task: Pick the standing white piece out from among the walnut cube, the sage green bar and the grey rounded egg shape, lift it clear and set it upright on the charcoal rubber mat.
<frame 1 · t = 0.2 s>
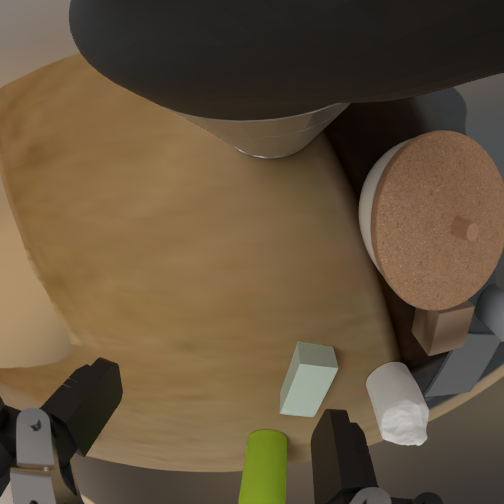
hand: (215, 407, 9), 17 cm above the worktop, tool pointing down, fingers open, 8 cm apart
soap dispenser: (268, 440, 34), on the worktop
white piece: (386, 375, 28), on the worktop
sage bar: (305, 369, 29), on the worktop
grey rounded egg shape: (487, 302, 24), on the worktop
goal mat: (465, 364, 27), on the worktop
walnut cube: (432, 309, 25), on the worktop
lidded bowl: (401, 206, 23), on the worktop
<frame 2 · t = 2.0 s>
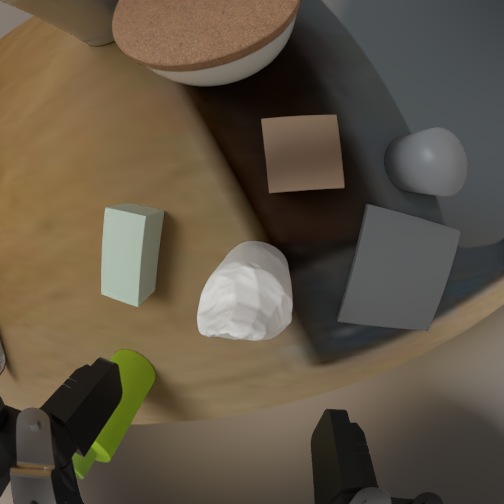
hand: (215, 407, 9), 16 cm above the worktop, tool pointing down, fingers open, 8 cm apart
soap dispenser: (137, 370, 29), on the worktop
white piece: (254, 268, 24), on the worktop
sage bar: (141, 247, 25), on the worktop
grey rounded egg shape: (408, 164, 20), on the worktop
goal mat: (402, 273, 23), on the worktop
walnut cube: (297, 158, 21), on the worktop
lidded bowl: (224, 46, 19), on the worktop
tin: (0, 337, 33), on the worktop
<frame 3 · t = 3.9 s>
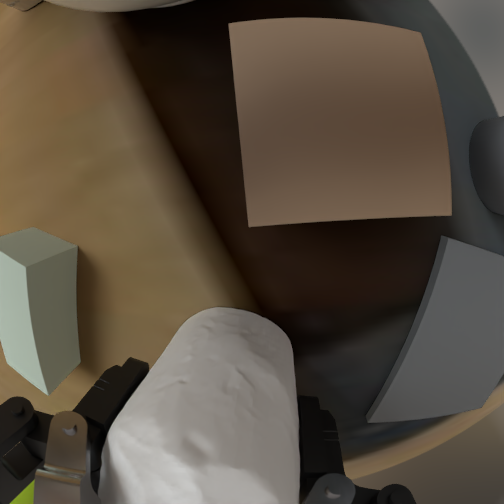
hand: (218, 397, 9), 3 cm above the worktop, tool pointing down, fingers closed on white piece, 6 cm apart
white piece: (230, 351, 12), on the worktop, touching gripper
sage bar: (55, 298, 13), on the worktop
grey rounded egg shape: (498, 166, 9), on the worktop
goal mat: (471, 344, 11), on the worktop
walnut cube: (318, 140, 10), on the worktop
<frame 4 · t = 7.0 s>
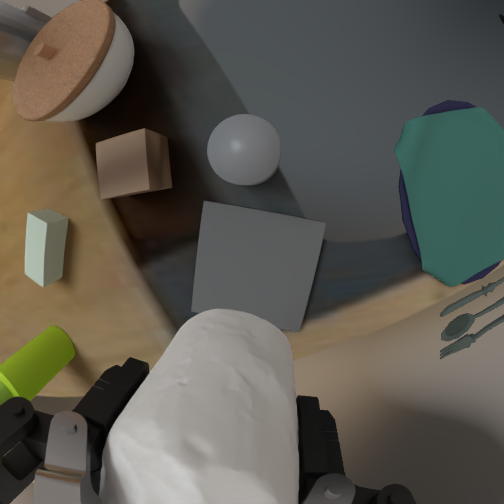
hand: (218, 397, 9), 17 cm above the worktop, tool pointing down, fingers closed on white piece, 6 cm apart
soap dispenser: (63, 345, 31), on the worktop
white piece: (230, 353, 12), point 13 cm above the worktop, touching gripper
sage bar: (55, 243, 27), on the worktop
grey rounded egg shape: (251, 157, 23), on the worktop
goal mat: (254, 268, 25), on the worktop
walnut cube: (146, 166, 24), on the worktop
lidded bowl: (104, 79, 22), on the worktop
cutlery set: (470, 235, 23), on the worktop
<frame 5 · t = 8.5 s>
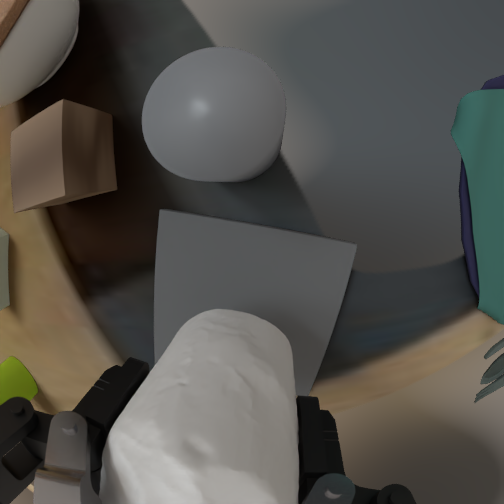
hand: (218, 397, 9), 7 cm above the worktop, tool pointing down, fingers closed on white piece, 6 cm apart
soap dispenser: (25, 378, 22), on the worktop
white piece: (230, 353, 12), point 4 cm above the worktop, touching gripper
sage bar: (0, 263, 18), on the worktop
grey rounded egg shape: (235, 137, 14), on the worktop
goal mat: (242, 313, 16), on the worktop
walnut cube: (85, 160, 15), on the worktop
lidded bowl: (49, 52, 13), on the worktop
when the fingers open (5 cm above the worktop, at t = 9.9 s): white piece drops 1 cm, resting on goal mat.
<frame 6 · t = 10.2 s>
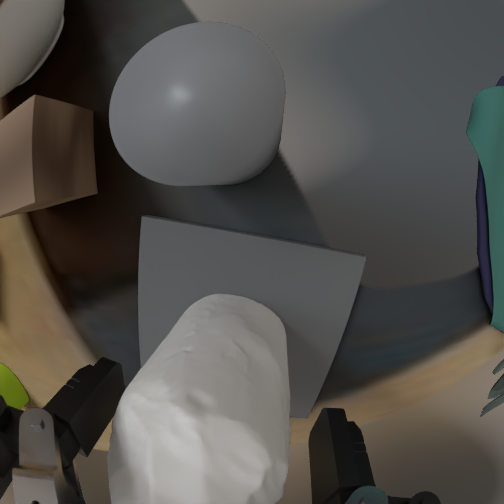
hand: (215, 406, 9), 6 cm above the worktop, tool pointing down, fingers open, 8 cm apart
soap dispenser: (16, 385, 20), on the worktop
white piece: (229, 335, 14), resting on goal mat
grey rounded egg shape: (227, 133, 12), on the worktop
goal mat: (236, 332, 14), on the worktop
walnut cube: (65, 161, 13), on the worktop
lidded bowl: (35, 47, 11), on the worktop
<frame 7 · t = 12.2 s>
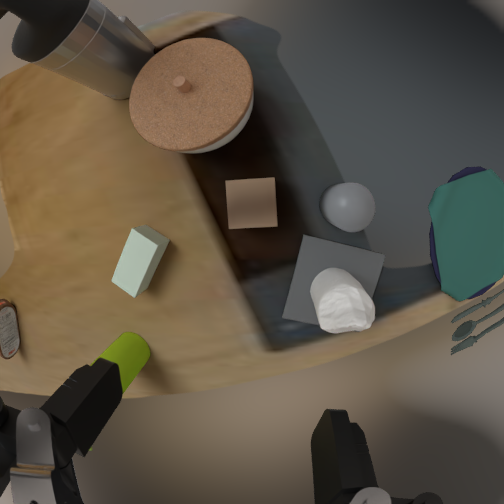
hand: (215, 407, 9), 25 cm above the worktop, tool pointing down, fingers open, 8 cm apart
soap dispenser: (136, 349, 39), on the worktop
white piece: (332, 286, 33), resting on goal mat
sage bar: (146, 257, 35), on the worktop
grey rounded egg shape: (339, 204, 31), on the worktop
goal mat: (334, 285, 33), on the worktop
walnut cube: (255, 201, 32), on the worktop
lidded bowl: (209, 113, 30), on the worktop
tin: (16, 323, 42), on the worktop
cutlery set: (474, 263, 31), on the worktop
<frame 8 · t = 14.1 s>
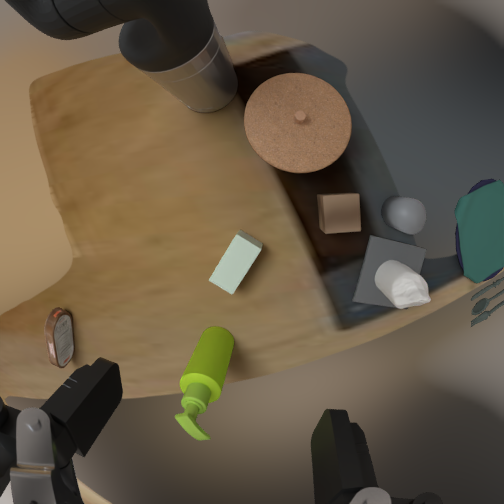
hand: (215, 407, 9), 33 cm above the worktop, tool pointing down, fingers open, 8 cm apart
soap dispenser: (219, 342, 46), on the worktop
white piece: (389, 274, 40), resting on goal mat
sage bar: (238, 257, 42), on the worktop
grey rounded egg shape: (395, 211, 38), on the worktop
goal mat: (390, 274, 40), on the worktop
walnut cube: (334, 210, 39), on the worktop
lidded bowl: (293, 134, 37), on the worktop
tin: (71, 330, 50), on the worktop
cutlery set: (486, 253, 38), on the worktop
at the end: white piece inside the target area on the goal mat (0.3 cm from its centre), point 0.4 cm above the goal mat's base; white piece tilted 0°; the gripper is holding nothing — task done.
